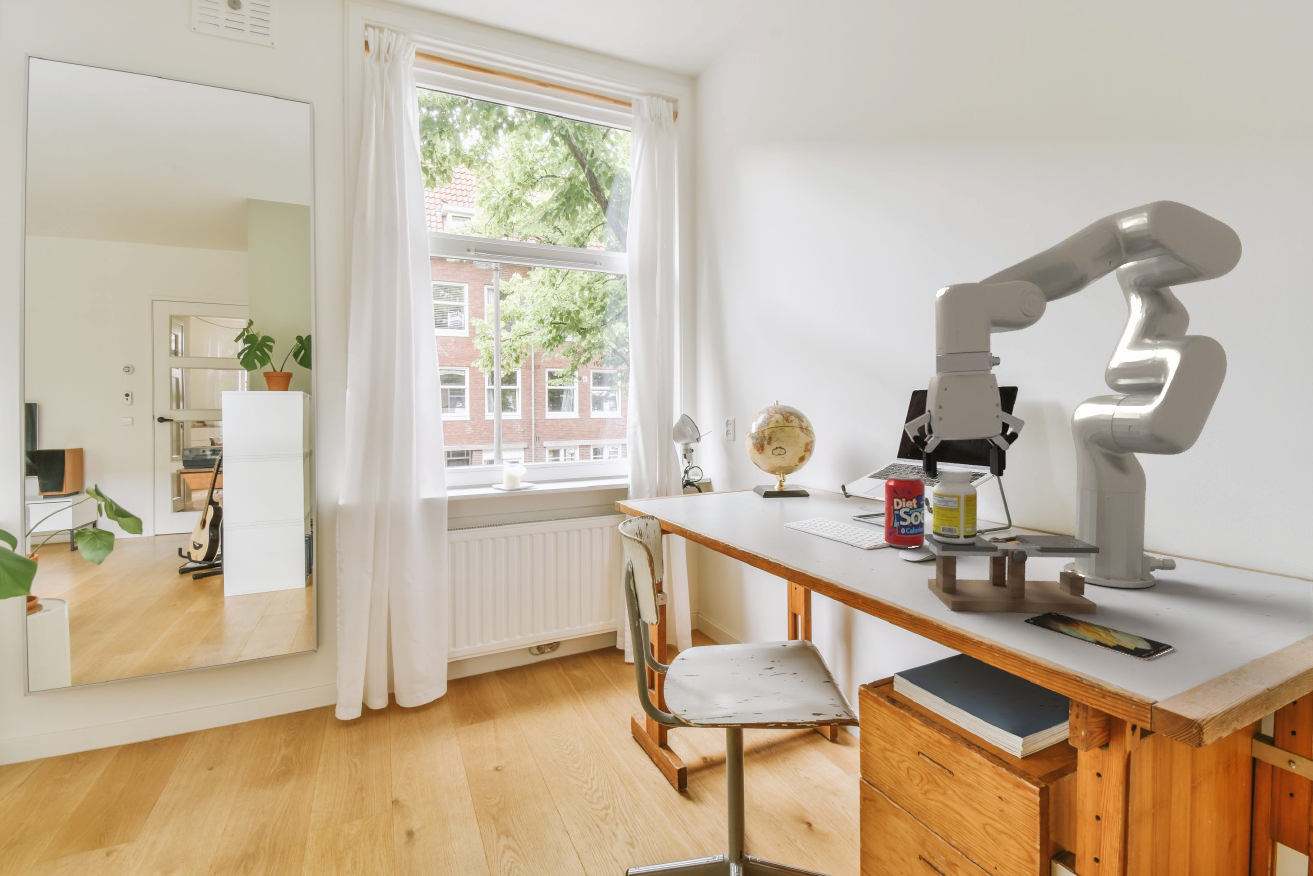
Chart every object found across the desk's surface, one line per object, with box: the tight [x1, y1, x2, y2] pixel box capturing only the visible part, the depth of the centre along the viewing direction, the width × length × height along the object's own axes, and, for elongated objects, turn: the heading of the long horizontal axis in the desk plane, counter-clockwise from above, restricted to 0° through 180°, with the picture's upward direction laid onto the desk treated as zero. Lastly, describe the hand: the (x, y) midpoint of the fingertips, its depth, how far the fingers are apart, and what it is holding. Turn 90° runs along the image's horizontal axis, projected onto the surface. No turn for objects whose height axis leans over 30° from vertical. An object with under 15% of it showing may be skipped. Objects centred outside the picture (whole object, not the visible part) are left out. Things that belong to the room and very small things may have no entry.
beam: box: [924, 533, 1099, 559], centre depth 94 cm, size 22×8×2 cm, turn 83°
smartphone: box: [1023, 612, 1174, 661], centre depth 81 cm, size 7×1×15 cm
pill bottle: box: [932, 468, 978, 544], centre depth 95 cm, size 6×6×11 cm
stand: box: [927, 536, 1097, 615], centre depth 94 cm, size 20×11×9 cm, turn 83°
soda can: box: [884, 474, 926, 549], centre depth 130 cm, size 8×8×15 cm
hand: (963, 476), depth 95 cm, fingers open, 9 cm apart
